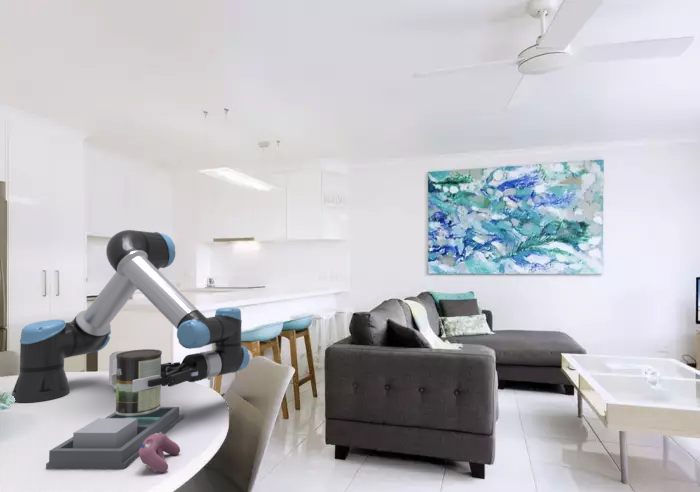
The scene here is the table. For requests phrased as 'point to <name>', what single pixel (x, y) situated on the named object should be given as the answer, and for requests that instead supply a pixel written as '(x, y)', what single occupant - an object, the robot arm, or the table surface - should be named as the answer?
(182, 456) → the table surface
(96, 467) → the grey compartment tray
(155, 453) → the video game controller
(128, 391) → the coffee can
